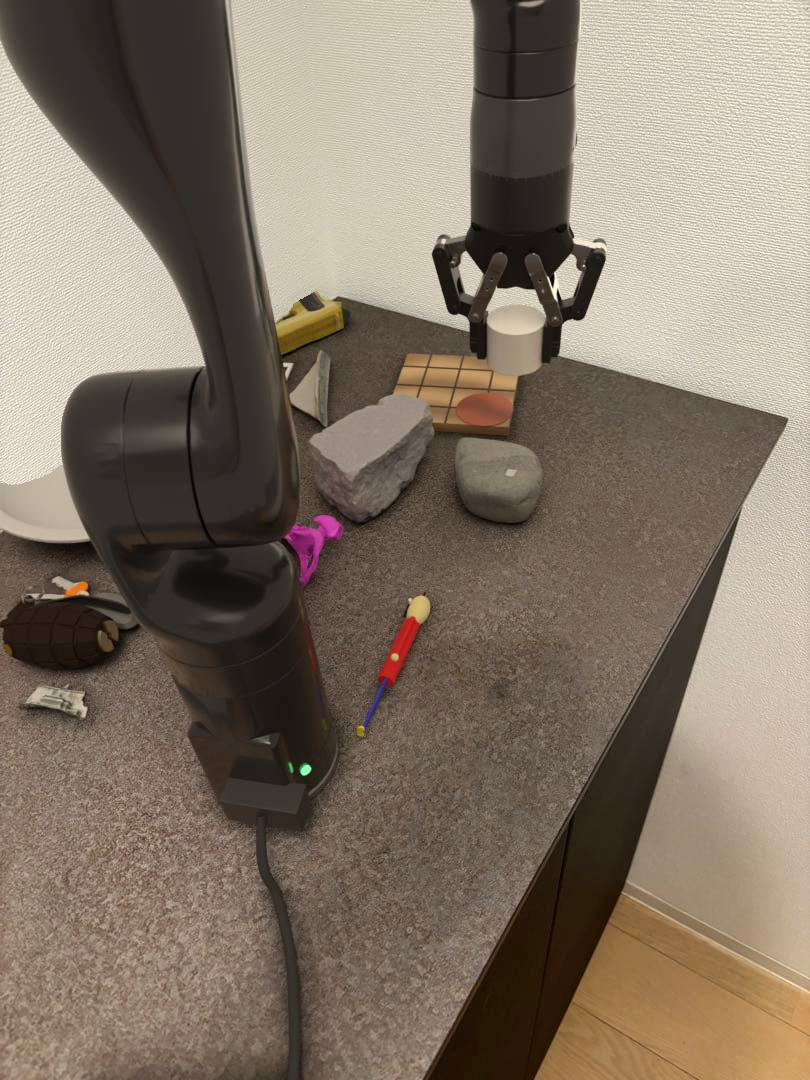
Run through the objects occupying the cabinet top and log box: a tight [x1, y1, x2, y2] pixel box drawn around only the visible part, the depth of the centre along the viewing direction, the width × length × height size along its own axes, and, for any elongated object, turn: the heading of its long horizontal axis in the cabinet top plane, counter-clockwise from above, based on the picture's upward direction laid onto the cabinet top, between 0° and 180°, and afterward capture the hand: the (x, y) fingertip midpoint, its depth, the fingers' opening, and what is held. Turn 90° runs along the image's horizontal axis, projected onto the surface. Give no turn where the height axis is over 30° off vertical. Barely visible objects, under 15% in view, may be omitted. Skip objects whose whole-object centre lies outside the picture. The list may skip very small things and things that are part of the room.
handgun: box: [275, 290, 352, 355], centre depth 105 cm, size 2×19×12 cm
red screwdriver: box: [356, 591, 431, 738], centre depth 65 cm, size 3×2×15 cm
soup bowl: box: [0, 465, 91, 544], centre depth 82 cm, size 24×24×7 cm
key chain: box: [21, 575, 139, 630], centre depth 72 cm, size 13×4×2 cm, turn 65°
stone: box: [454, 436, 544, 524], centre depth 78 cm, size 9×9×10 cm
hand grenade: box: [0, 583, 131, 670], centre depth 67 cm, size 5×7×11 cm
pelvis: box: [283, 514, 344, 590], centre depth 71 cm, size 12×10×7 cm
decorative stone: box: [307, 393, 436, 524], centre depth 81 cm, size 15×7×10 cm
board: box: [392, 352, 520, 437], centre depth 93 cm, size 14×14×1 cm
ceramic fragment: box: [289, 349, 331, 428], centre depth 94 cm, size 14×5×4 cm, turn 1°
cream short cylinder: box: [486, 304, 546, 377], centre depth 68 cm, size 5×5×4 cm
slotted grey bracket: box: [16, 683, 88, 721], centre depth 64 cm, size 6×2×3 cm
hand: (514, 355), depth 69 cm, fingers closed on cream short cylinder, 5 cm apart
